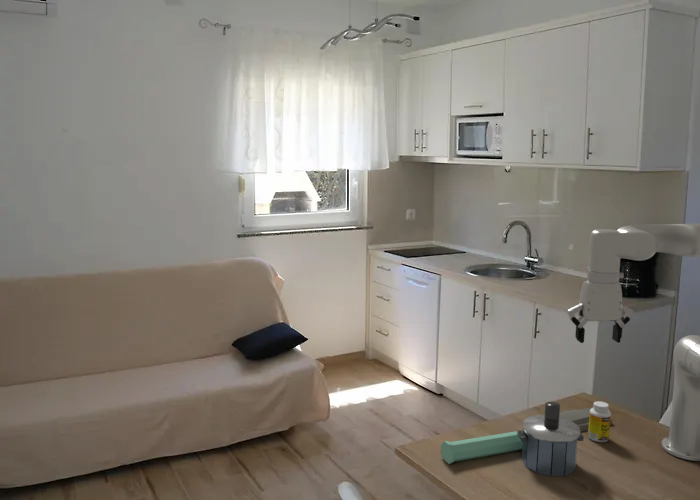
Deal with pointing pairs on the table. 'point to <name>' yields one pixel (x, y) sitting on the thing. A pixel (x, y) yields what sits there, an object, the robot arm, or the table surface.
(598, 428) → the supplement bottle
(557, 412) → the lid
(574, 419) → the soap mold
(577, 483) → the table surface
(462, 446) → the mint green octagonal rod
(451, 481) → the table surface
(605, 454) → the table surface
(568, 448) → the pot
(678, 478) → the table surface
